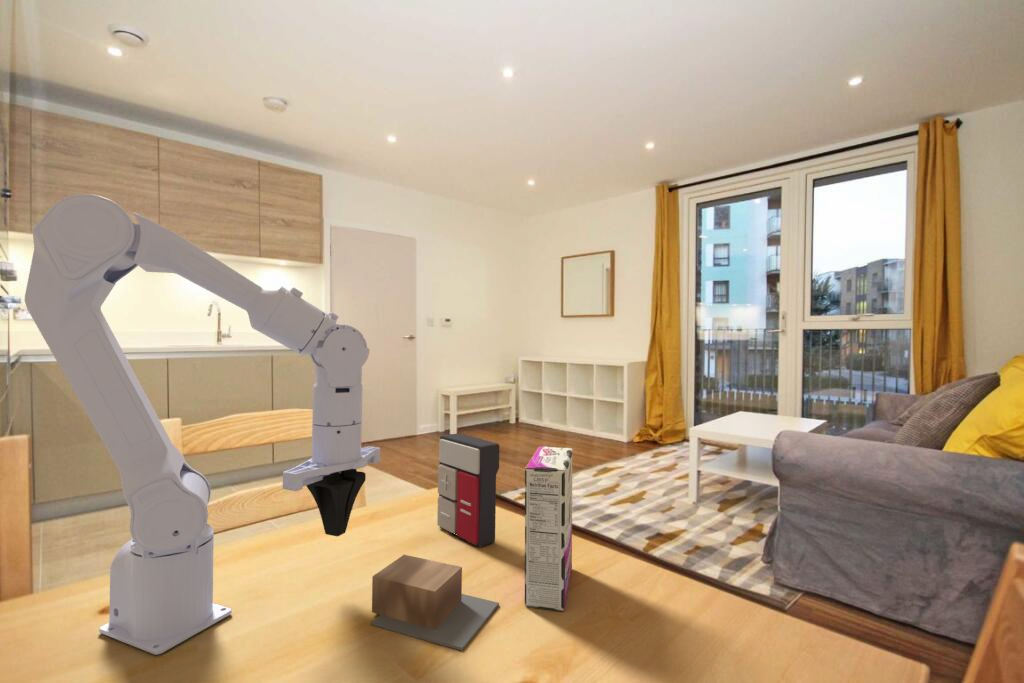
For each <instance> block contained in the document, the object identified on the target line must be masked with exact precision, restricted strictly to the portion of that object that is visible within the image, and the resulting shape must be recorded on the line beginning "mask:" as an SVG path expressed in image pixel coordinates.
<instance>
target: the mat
mask: <svg viewBox="0 0 1024 683" xmlns="http://www.w3.org/2000/svg"><path fill="white" fill-rule="evenodd" d="M499 606H500V603H499V602H498V601H493V600H488V599H485V598H481V597H476V596H472V595H469V594H468V595H467V594H464V593H462V599H461V602H460V603H459V604H458V606H457V607H456V608H455V609H454V610H453V611H452V612H451V613H450V614H449V615H448V616H447V617H446V618H445V619H444V620H443V621H442V622H441V623H440V624H439V625H438V626H437V627H436V628H435V630H434V629H430V628H427V627H423V626H419V625H416V624H412V623H408V622H405V621H401V620H398V619H394V618H390V617H387V616H383V615H380V614H378V616H376V617H375V618H374V619H372V621H371V626H374V627H378V628H381V629H385V630H387V631H388V630H389V631H392V632H396V633H399V634H402V635H404V636H405V635H406V636H410V637H413V638H416V639H419V640H423V641H427V642H430V643H432V644H433V643H434V644H437V645H441V646H443V647H448V648H449V649H450V648H451V649H453V650H457V651H460V652H464V649H466V647H467V645H469V643H470V642H471V640H473V638H474V637H475V636H476V635H477V633H478V632H479V630H480V629H482V627H483V626H484V624H486V622H487V621H488V619H489V618H490V617H491V616H492V615H493V614H494V612H495V611H496V609H497V608H498V607H499Z"/></svg>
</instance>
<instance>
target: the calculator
mask: <svg viewBox="0 0 1024 683" xmlns="http://www.w3.org/2000/svg"><path fill="white" fill-rule="evenodd" d="M438 446H439V448H438V449H439V451H438V452H439V454H438V455H439V459H438V460H439V464H438V466H437V467H438V468H437V493H438V497H437V517H436V518H437V521H436V522H437V523H436V524H437V526H438V527H439V526H440V527H439V528H441V527H442V528H441V529H443V528H444V529H445V531H446V530H447V531H446V532H448V531H449V532H448V533H450V532H451V533H450V534H452V533H455V534H457V535H458V536H459V537H458V536H457V537H458V538H460V537H461V538H460V539H462V538H463V539H462V540H464V539H465V540H464V541H466V540H467V541H466V542H468V541H469V542H468V543H469V544H471V545H474V546H476V547H477V546H478V547H477V548H482V546H483V547H485V546H488V545H490V543H491V544H493V542H494V543H496V542H495V541H496V509H497V508H496V506H497V505H496V504H497V503H496V502H497V501H496V500H497V495H496V494H497V474H498V472H499V469H500V444H499V443H498V442H493V441H490V440H485V439H481V438H478V437H474V436H469V435H466V434H462V433H451V434H444V435H441V436H440V437H439V445H438ZM444 529H443V530H444Z"/></svg>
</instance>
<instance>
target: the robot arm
mask: <svg viewBox="0 0 1024 683" xmlns="http://www.w3.org/2000/svg"><path fill="white" fill-rule="evenodd" d="M132 214H133V216H134V217H135V218H136V220H137V222H138V224H137V223H134V222H133V219H132V218H131V216H130V215H129V214H128V212H127V211H126V210H125V209H124V208H123V207H122V206H121V205H119V204H118V203H117V202H115V201H114V200H111V199H109V198H107V197H105V196H104V197H103V196H101V195H96V194H91V193H90V194H89V193H78V194H73V195H68V196H66V197H63V198H61V199H59V200H58V201H57V202H55V203H54V204H53V205H52V206H51V207H50V208H49V209H48V210H47V212H46V213H45V214H44V215H43V216H42V218H40V220H39V221H38V222H37V223H36V224H35V226H33V228H32V237H33V252H32V258H31V264H30V270H29V274H28V278H27V282H26V289H25V294H24V303H25V307H26V309H27V311H28V313H29V314H30V316H31V319H32V321H33V322H34V323H35V325H36V328H38V331H39V332H40V335H41V336H42V338H43V340H44V341H45V343H46V346H48V348H49V350H50V352H51V354H52V356H53V357H54V359H55V360H56V362H57V364H58V366H59V368H60V370H61V371H62V373H63V374H64V375H63V376H65V378H66V380H67V382H68V383H69V385H70V387H71V388H72V391H73V392H74V394H75V396H76V397H77V399H78V401H79V403H80V405H81V406H82V408H83V410H84V412H85V413H86V415H87V417H88V419H89V421H90V423H91V425H93V428H94V429H95V430H96V432H97V435H98V436H99V438H100V440H101V442H102V443H103V445H104V447H105V449H106V450H107V452H108V454H109V456H110V457H111V459H112V461H113V463H114V465H115V466H116V468H117V470H118V473H119V477H120V482H121V490H122V495H123V498H124V500H125V502H126V503H127V505H128V508H129V511H130V520H129V521H130V522H129V532H130V536H131V539H130V540H128V541H127V542H126V543H124V544H123V545H122V546H121V548H119V550H118V551H117V552H116V554H115V556H114V558H112V559H113V560H112V562H111V564H110V570H109V614H108V615H109V618H108V619H109V620H108V621H109V622H107V623H106V624H104V625H102V626H100V627H99V628H98V632H99V633H100V634H102V635H105V636H107V637H110V638H113V639H114V640H117V641H120V642H122V643H124V644H128V645H130V646H132V647H135V648H137V649H140V650H143V651H145V652H147V653H149V654H152V655H156V656H157V655H161V654H163V653H165V652H166V651H169V650H170V649H171V648H173V647H175V646H177V645H179V644H181V643H183V642H185V641H186V640H189V638H191V637H193V636H195V635H197V634H199V633H200V632H202V631H204V630H206V629H207V628H209V627H211V626H213V625H214V624H216V623H218V622H219V621H221V620H223V619H225V618H226V617H228V616H230V615H231V614H232V613H233V612H232V610H233V609H232V608H230V607H227V606H224V605H220V604H217V603H214V549H215V548H214V544H215V541H214V539H215V538H214V537H215V535H214V533H215V532H214V531H215V530H214V528H213V526H211V525H210V524H209V523H208V518H209V511H208V504H209V502H210V498H211V494H212V493H211V484H210V483H209V480H208V479H207V478H206V476H205V475H204V474H203V473H201V472H199V471H197V470H196V469H194V468H193V467H191V466H190V465H189V464H188V462H187V461H186V459H185V456H184V455H183V453H182V452H181V451H180V450H179V449H178V448H177V447H176V446H175V445H174V443H173V442H172V440H171V439H170V437H169V435H168V433H167V432H166V430H165V428H164V426H163V423H162V422H161V420H160V418H159V416H158V415H157V412H156V411H155V408H154V407H153V405H152V403H151V401H150V399H149V397H148V396H147V394H146V392H145V389H144V388H143V387H142V384H141V383H140V380H139V379H138V377H137V375H136V373H135V372H134V370H133V368H132V366H131V364H130V362H129V361H128V359H127V357H126V355H125V353H124V351H123V349H122V347H121V345H120V344H119V342H118V340H117V338H116V336H115V335H114V333H113V330H112V329H111V327H110V325H109V323H108V321H107V319H106V318H105V315H104V313H103V312H102V309H101V308H102V306H103V304H104V302H105V301H106V299H108V298H107V297H108V296H109V295H110V294H111V292H112V290H113V289H114V288H115V285H116V283H117V282H119V281H120V280H122V279H123V278H124V277H126V276H127V275H128V274H130V273H131V272H132V271H134V270H135V269H136V268H137V267H139V268H141V269H142V270H143V271H145V273H163V274H164V273H166V274H169V273H170V274H175V275H178V276H180V277H182V278H183V279H186V280H188V281H189V282H192V283H193V284H195V285H197V286H199V287H201V288H202V289H205V290H206V291H208V292H211V293H212V294H214V295H215V296H217V297H219V298H220V299H224V300H225V301H227V302H229V303H230V304H233V305H235V306H236V307H238V308H240V309H242V310H244V311H246V312H247V315H248V319H249V323H250V326H251V328H252V329H253V330H255V331H257V332H259V333H261V334H262V335H264V336H267V337H268V338H270V339H271V340H272V341H273V340H274V341H275V342H277V343H279V344H281V345H283V346H284V347H286V348H288V349H289V350H292V351H293V352H295V353H297V354H299V355H301V356H306V355H309V356H310V359H311V360H312V362H313V363H314V364H315V365H314V384H313V386H312V417H311V418H312V419H311V420H312V423H311V425H312V426H311V428H312V429H311V458H309V459H307V460H306V461H303V462H302V463H300V464H298V465H297V466H295V467H293V468H290V469H288V470H284V471H283V472H282V489H283V490H286V491H293V492H298V491H301V490H303V487H305V486H306V488H307V489H308V490H309V492H310V494H311V496H312V497H313V499H314V501H315V503H316V506H317V509H318V510H319V514H320V517H321V521H322V525H323V530H324V534H325V535H328V536H333V537H340V536H342V535H344V534H345V533H346V531H347V528H348V524H349V520H350V518H351V513H352V511H353V507H354V503H355V501H356V499H357V496H358V494H359V492H360V490H361V488H362V487H363V484H365V482H366V478H367V476H366V472H363V471H357V470H359V469H362V468H365V467H367V466H368V464H377V463H380V462H381V447H378V446H377V447H376V446H369V445H368V446H364V447H362V431H363V430H362V428H363V425H362V423H363V422H362V421H363V384H362V383H363V382H362V381H363V380H362V378H363V377H362V376H363V366H364V365H365V364H366V363H367V360H368V358H369V355H370V348H369V347H368V344H367V341H366V339H365V338H364V335H363V334H362V333H361V331H359V329H357V328H355V327H353V326H351V325H347V324H339V323H337V321H338V319H339V315H337V314H336V313H334V312H331V311H330V312H329V313H328V312H327V313H326V312H325V311H323V310H322V309H320V308H319V307H316V306H315V305H313V304H312V303H310V302H308V301H307V300H305V299H304V298H302V296H303V292H302V291H301V290H300V289H299V290H298V289H297V288H296V287H292V288H291V289H290V290H289V289H287V288H286V287H284V286H281V285H280V286H279V285H277V286H272V287H266V288H265V287H261V286H260V285H258V284H257V283H255V282H254V281H252V280H250V279H249V278H247V277H246V276H244V275H243V274H241V273H239V272H238V271H236V270H235V269H233V268H232V267H230V266H228V265H227V264H226V263H224V262H222V261H220V260H219V259H218V258H216V257H215V256H213V255H212V254H210V253H208V252H207V251H205V250H203V249H202V248H200V247H198V245H195V244H194V243H192V242H190V240H188V239H185V237H183V236H181V235H180V234H178V233H176V232H174V231H173V230H170V229H168V227H167V228H166V227H165V226H163V225H161V224H160V223H158V222H155V221H153V220H152V219H149V218H148V217H145V216H143V215H140V214H138V213H136V212H132Z"/></svg>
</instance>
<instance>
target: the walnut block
mask: <svg viewBox="0 0 1024 683" xmlns="http://www.w3.org/2000/svg"><path fill="white" fill-rule="evenodd" d="M371 579H372V582H371V584H372V585H371V586H372V587H371V588H372V590H371V613H373V614H375V615H376V614H377V615H383V616H387V617H390V618H394V619H398V620H401V621H405V622H408V623H412V624H416V625H419V626H423V627H427V628H430V629H434V630H435V628H436V627H437V626H438V625H439V624H440V623H441V622H442V621H443V620H444V619H445V618H446V617H447V616H448V615H449V614H450V613H451V612H452V611H453V610H454V609H455V608H456V607H457V606H458V604H459V603H460V602H461V599H462V594H463V593H462V591H463V589H462V588H463V587H462V586H463V584H462V583H463V566H460V565H459V566H458V565H454V564H449V563H445V562H440V561H436V560H431V559H426V558H422V557H417V556H411V555H407V554H402V555H401V556H400V557H398V558H397V559H395V560H394V561H393V562H391V563H389V564H388V565H386V567H384V568H382V569H381V570H380V571H378V572H377V573H375V574H374V575H372V578H371Z"/></svg>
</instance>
